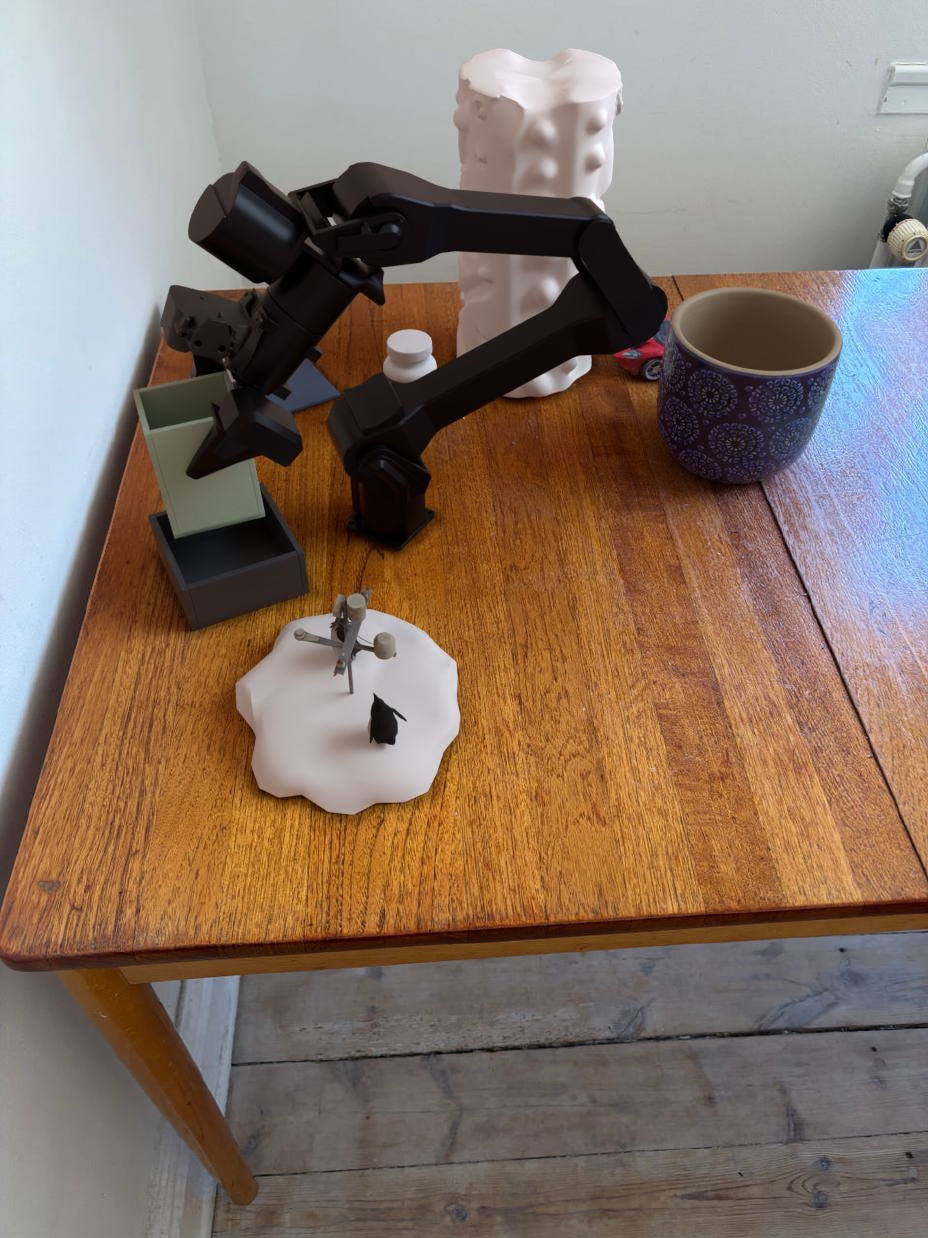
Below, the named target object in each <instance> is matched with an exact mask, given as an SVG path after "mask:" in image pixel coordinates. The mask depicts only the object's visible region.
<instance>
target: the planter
mask: <svg viewBox="0 0 928 1238" xmlns="http://www.w3.org/2000/svg"><path fill="white" fill-rule="evenodd" d="M670 318H671V319H670V323H669V327H668V331H667V336H666V342H665V347H664V352H663V357H662V364H661V371H660V377H659V379H658V384H657V395H656V407H655V408H656V410H655V411H656V412H655V420H656V429H657V433H658V435H659V437H660V439H661V442H662V444H663V446H664V447H665V449H666V451H667V452H668V454H669V455H670V456H671V457H672V458H673V459H674V460H675V461H676V462H677V463H678V464H679V465H680V466H682V467H683V468H684V469H686V470H687V471H689V472H690V473H692V474H694V475H696V476H698V477H701V478H704V479H706V480H710V481H711V482H712V481H713V482H717V483H722V484H729V485H733V484H734V485H744V484H754V483H758V482H762V481H765V480H768V479H770V478H773V477H775V476H777V475H779V474H781V473H782V472H784V471H785V470H787V469H788V468H790V467H791V466H792V465H793V464H794V463H796V462H797V461H798V460H799V458H800V457H801V456H802V455H803V453H804V452H805V450H806V449H807V447H808V446H809V444H810V441H811V439H812V438H813V435H814V433H815V431H816V428H817V427H818V424H819V421H820V420H821V417H822V413H823V411H824V408H825V405H826V403H827V399H828V397H829V393H830V391H831V388H832V385H833V382H834V379H835V376H836V372H837V368H838V365H839V362H840V359H841V354H842V350H843V346H844V345H843V344H844V340H843V335H842V332H841V330H840V328H839V326H838V325H837V323H836V322H835V321H834V320H833V319H832V318H831V316H829V315H828V314H827V313H826V312H825V311H823V310H822V309H821V308H819V307H817V306H815V305H814V304H812V303H811V302H808V301H807V300H804V299H802V298H799V297H797V296H794V295H792V294H788V293H785V292H780V291H777V290H773V289H767V288H760V287H754V286H753V287H752V286H727V287H726V286H725V287H716V288H712V289H707V290H704V291H701V292H697V293H695V294H693V295H690V296H689V297H687V298H685V299H684V300H683V301H681V302H679V304H678V305H677V306H676V307H675V309H674V310H673V311H672V313H671V315H670Z"/></svg>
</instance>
